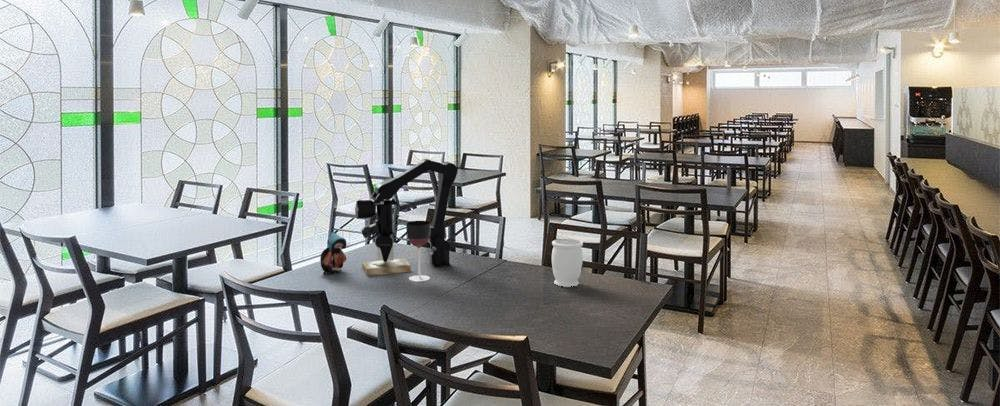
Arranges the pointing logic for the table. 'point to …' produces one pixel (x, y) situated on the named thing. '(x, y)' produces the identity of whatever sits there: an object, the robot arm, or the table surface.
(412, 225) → the wineglass
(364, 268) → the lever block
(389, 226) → the robot arm
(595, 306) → the table surface
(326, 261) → the figurine
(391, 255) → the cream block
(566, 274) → the jar
